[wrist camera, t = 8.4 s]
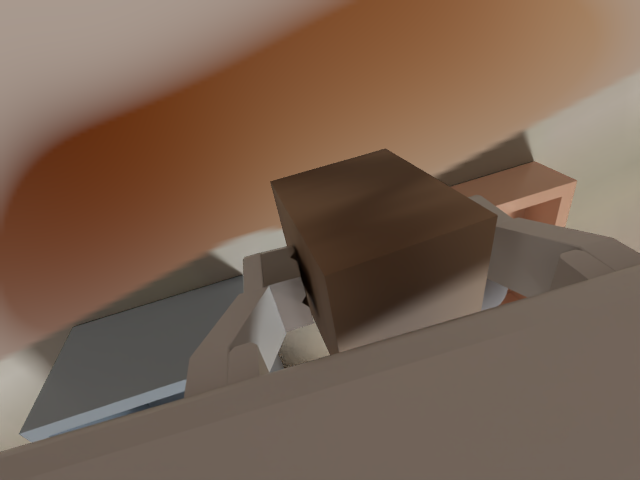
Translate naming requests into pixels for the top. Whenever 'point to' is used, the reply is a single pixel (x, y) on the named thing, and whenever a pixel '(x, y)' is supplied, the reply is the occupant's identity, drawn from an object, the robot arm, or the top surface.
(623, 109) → the top surface
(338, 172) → the block
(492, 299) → the ball
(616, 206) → the top surface
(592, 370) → the robot arm
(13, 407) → the top surface
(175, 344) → the grey open box
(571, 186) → the dish
